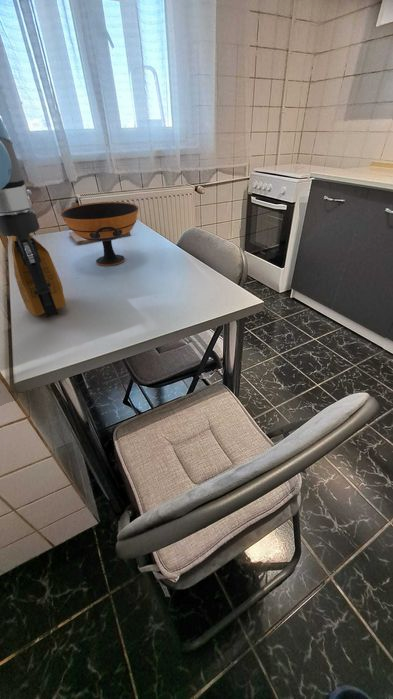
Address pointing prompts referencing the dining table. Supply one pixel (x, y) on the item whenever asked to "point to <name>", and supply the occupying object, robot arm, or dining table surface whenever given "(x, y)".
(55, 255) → the dining table surface
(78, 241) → the chopping board
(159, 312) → the dining table surface
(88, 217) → the footed pedestal bowl
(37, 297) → the coffee package
